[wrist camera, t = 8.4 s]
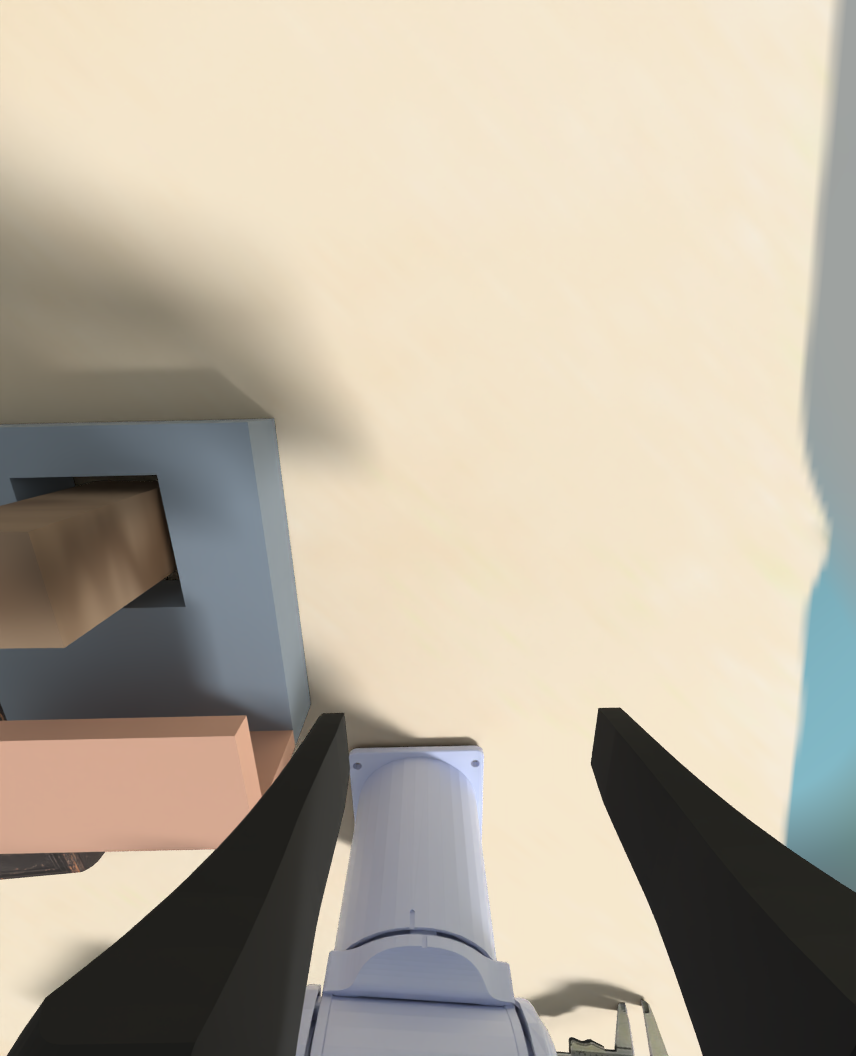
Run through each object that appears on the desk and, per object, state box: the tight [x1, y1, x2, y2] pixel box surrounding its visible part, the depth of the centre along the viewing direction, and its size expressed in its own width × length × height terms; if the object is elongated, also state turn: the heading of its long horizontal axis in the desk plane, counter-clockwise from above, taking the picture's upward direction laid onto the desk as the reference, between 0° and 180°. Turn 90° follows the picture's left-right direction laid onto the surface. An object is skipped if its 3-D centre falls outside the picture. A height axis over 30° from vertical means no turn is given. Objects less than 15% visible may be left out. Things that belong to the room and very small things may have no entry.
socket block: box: [0, 419, 311, 745], centre depth 20 cm, size 16×14×3 cm
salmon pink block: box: [0, 715, 295, 854], centre depth 18 cm, size 6×14×5 cm, turn 91°
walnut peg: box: [0, 481, 177, 649], centre depth 17 cm, size 4×4×8 cm
